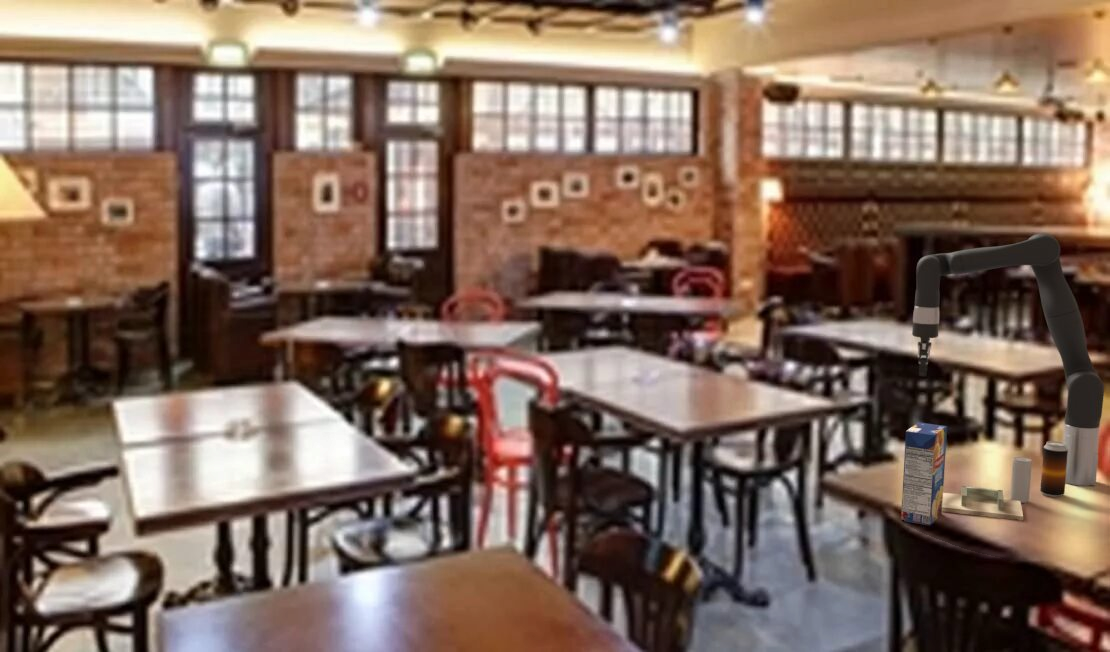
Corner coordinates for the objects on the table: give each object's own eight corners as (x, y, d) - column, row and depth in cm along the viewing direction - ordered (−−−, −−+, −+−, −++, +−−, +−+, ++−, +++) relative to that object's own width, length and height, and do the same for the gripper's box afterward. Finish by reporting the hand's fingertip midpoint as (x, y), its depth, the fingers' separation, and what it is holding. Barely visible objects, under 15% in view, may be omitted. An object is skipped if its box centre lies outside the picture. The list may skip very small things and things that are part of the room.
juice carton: (913, 508, 288) (918, 422, 284) (941, 513, 284) (947, 426, 280) (900, 520, 278) (905, 431, 274) (929, 525, 274) (935, 435, 270)
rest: (1020, 505, 292) (1021, 490, 291) (1022, 520, 279) (1024, 505, 278) (942, 496, 299) (943, 482, 298) (941, 511, 286) (942, 496, 285)
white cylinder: (1006, 498, 297) (1009, 457, 296) (1023, 498, 298) (1026, 456, 296) (1015, 503, 293) (1018, 461, 291) (1032, 503, 293) (1035, 461, 291)
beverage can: (1062, 492, 303) (1066, 441, 301) (1065, 499, 297) (1069, 447, 295) (1039, 490, 305) (1042, 439, 303) (1041, 496, 299) (1045, 444, 297)
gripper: (938, 325, 315) (935, 378, 318) (939, 318, 329) (936, 370, 331) (912, 323, 318) (909, 376, 320) (913, 317, 331) (910, 368, 333)
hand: (922, 373), depth 326 cm, fingers open, 8 cm apart
